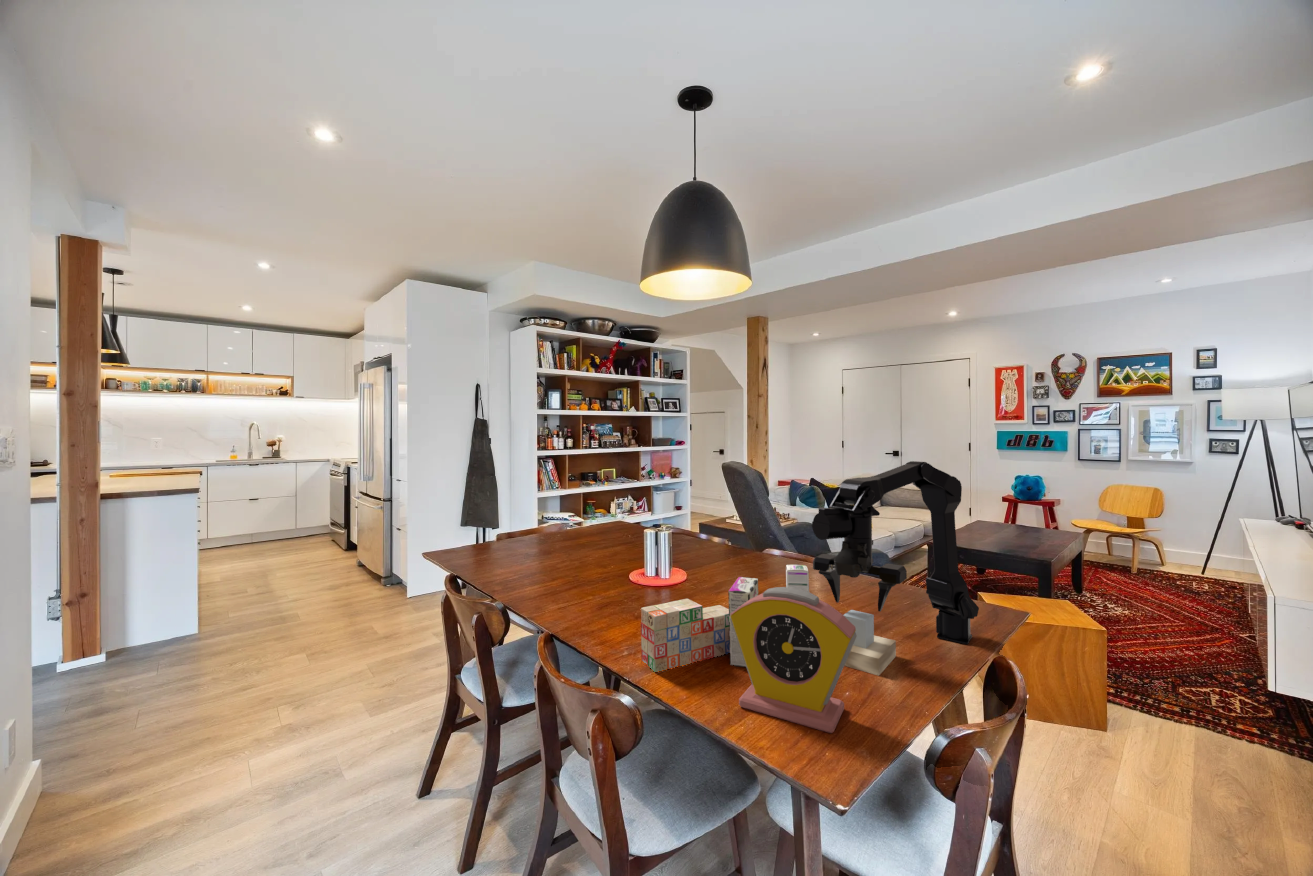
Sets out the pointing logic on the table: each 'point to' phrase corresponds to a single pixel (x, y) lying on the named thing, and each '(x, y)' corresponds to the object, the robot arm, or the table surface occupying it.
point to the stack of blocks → (683, 633)
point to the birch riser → (872, 656)
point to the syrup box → (797, 577)
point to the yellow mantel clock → (793, 656)
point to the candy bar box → (737, 597)
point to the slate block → (862, 627)
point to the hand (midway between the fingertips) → (858, 606)
